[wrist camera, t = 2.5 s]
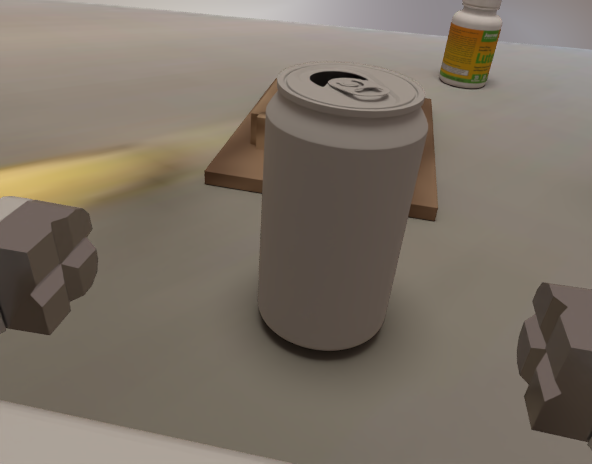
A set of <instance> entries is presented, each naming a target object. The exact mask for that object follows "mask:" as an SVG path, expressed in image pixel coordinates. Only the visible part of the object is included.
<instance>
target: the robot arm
mask: <svg viewBox="0 0 592 464" xmlns="http://www.w3.org/2000/svg"><path fill="white" fill-rule="evenodd" d="M91 231H92V224H91V220H90V216H89V213H87V212H86V211H85V210H84V209H83V208H77V207H72V206H66V205H61V204H55V203H50V202H44V201H39V200H32V199H27V198H21V197H14V196H7V197H2V198H0V334H1V333H3V332H4V331H6V328H8V329H14V330H20V331H26V332H32V333H38V334H44V335H51V334H52V332H53V331H54V330H55V329H56V328H57V327H58V325H59V324H60V323H61V322H62V321H63V320H64V318H65V317H66V316H67V315H68V314H69V313H70V311H71V308H70V301H73V300H75V299H77V298H79V297H82V296H84V295H85V294H86V292H87V291H88V290H89V289H90V287H91V286H92V284H93V282H94V279H95V276H96V274H97V269H98V256H97V250H96V248H95V247H94V245H93V244H92V243H91V242H90V241H89V239H88V238H87V237H88V235H89V234H90V232H91ZM532 302H533V305H534V309H535V313H536V314H535V315H533V316H532V317H530V318H529V319H527V320H525V321H524V324H523V326H522V329H521V332H520V335H519V340H518V347H517V364H518V370H519V375H520V376H521V377H522V378H523V379H524V380H525V381H526V382H527V383H528V384H529V386H528V388H527V390H526V393H525V395H524V398H525V403H526V407H527V412H528V416H529V421H530V425H531V430H535V431H540V432H544V433H549V434H553V435H558V436H562V437H567V438H571V439H576V440H580V441H585V442H589V443H588V444H587V445H588V446H589V447H590V448H591V450H592V289H585V288H578V287H571V286H564V285H557V284H550V283H542V284H541V285H540V287H539V288H538V289H537V291H536V294H535V296H534V299H533V301H532ZM0 464H294V463H289V462H285V461H280V460H275V459H271V458H266V457H262V456H257V455H252V454H248V453H243V452H238V451H234V450H229V449H225V448H220V447H215V446H211V445H206V444H202V443H197V442H192V441H188V440H183V439H178V438H174V437H169V436H165V435H160V434H155V433H151V432H146V431H141V430H137V429H132V428H128V427H123V426H118V425H114V424H109V423H105V422H100V421H95V420H91V419H86V418H81V417H77V416H72V415H68V414H63V413H58V412H54V411H49V410H44V409H40V408H35V407H31V406H26V405H21V404H17V403H12V402H8V401H3V400H0Z"/></svg>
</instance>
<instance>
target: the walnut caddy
mask: <svg viewBox="0 0 592 464" xmlns="http://www.w3.org/2000/svg"><path fill="white" fill-rule="evenodd" d="M277 91H278V89H277V78H276V79H275V80H274V82H273V83H272V84H271V86H270V87H269V88H268V89H267V91H266V92H265V93H264V95H263V96H262V97H261V99H260V100H259V101H258V102H257V104H256V105H255V106H254V108H253V109H252V110H251V111H250V113H249V114H248V115H247V117H246V118H245V119H244V121H243V122H242V123H241V124H240V126H239V127H238V128H237V130H236V131H235V132H234V134H233V135H232V136H231V137H230V139H229V140H228V141H227V143H226V144H225V145H224V147H223V148H222V149H221V150H220V152H219V153H218V154H217V156H216V157H215V158H214V159H213V161H212V162H211V163H210V165H209V166H208V167H207V169H206V170H205V184H209V185H216V186H222V187H228V188H234V189H240V190H247V191H253V192H259V193H262V187H263V163H264V140H265V116H266V107H267V105H268V103H269V101H270V100H271V99H272V97H273V96H274V95H275V93H276V92H277ZM421 108H422V110H423V112H424V114H425V117H426V119H427V122H428V132H427V136H426V141H425V145H424V150H423V154H422V158H421V163H420V167H419V171H418V176H417V180H416V184H415V189H414V193H413V197H412V202H411V206H410V211H409V215H408V217H413V218H420V219H426V220H432V221H435V217H436V213H437V210H438V202H437V185H436V169H435V153H434V136H433V120H432V104H431V99H427V98H425V99H424V103H423V105H422V106H421Z"/></svg>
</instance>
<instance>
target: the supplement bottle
mask: <svg viewBox="0 0 592 464" xmlns="http://www.w3.org/2000/svg"><path fill="white" fill-rule="evenodd" d="M501 1H502V0H463V3H462V4H463V5H464V8H463V10H460V11H458V12H456V13H455V14H454V16H453V19H452V22H451V26H450V31H449V35H448V40H447V44H446V48H445V53H444V57H443V62H442V66H441V70H440V79H441V80H442V81H443V82H445V83H446V84H449V85H452V86H456V87H462V88H480V87H482V86H484V85H485V83H486V81H487V77H488V74H489V70H490V67H491V63H492V60H493V56H494V53H495V49H496V45H497V42H498V38H499V34H500V31H501V26H502V20H501V18H500V17H499V16H498V15H496V11H497V10H499V9H500V5H501Z"/></svg>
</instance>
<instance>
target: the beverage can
mask: <svg viewBox="0 0 592 464" xmlns="http://www.w3.org/2000/svg"><path fill="white" fill-rule="evenodd" d="M277 89H278V91H277V92H276V93H275V95H274V96H273V97H272V99H271V100H270V101H269V103H268V105H267V107H266V116H265V140H264V163H263V187H262V210H261V234H260V257H259V281H258V307H259V311H260V314H261V316H262V318H263V320H264V321H265V323H266V324H267V325H268V326H269V327H270V328H271V329H272V330H273V331H274V332H275V333H276V334H278V335H279V336H280V337H282V338H284V339H285V340H287V341H289V342H291V343H293V344H296V345H298V346H302V347H305V348H309V349H314V350H321V351H335V350H343V349H348V348H352V347H355V346H358V345H360V344H362V343H364V342H366V341H368V340H369V339H370V338H372V337H373V336H374V335H375V334H376V333H377V332H378V330H379V329H380V328H381V326H382V324H383V322H384V319H385V315H386V311H387V306H388V302H389V298H390V293H391V289H392V285H393V280H394V276H395V271H396V267H397V263H398V258H399V254H400V250H401V245H402V241H403V237H404V232H405V228H406V224H407V219H408V215H409V211H410V206H411V202H412V197H413V193H414V189H415V184H416V180H417V176H418V171H419V167H420V163H421V158H422V154H423V150H424V145H425V141H426V136H427V132H428V122H427V119H426V117H425V114H424V112H423V110H422V108H421V106H422V105H423V103H424V99H425V90H424V88H423V87H422V86H421V85H420V84H419V83H418V82H416V81H415V80H413V79H411V78H409V77H407V76H405V75H403V74H400V73H398V72H395V71H392V70H388V69H385V68H381V67H376V66H371V65H366V64H359V63H350V62H332V61H327V62H310V63H303V64H298V65H294V66H291V67H288V68H286V69H284V70H283V71H281V72H280V73H279V75H278V77H277Z"/></svg>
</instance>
